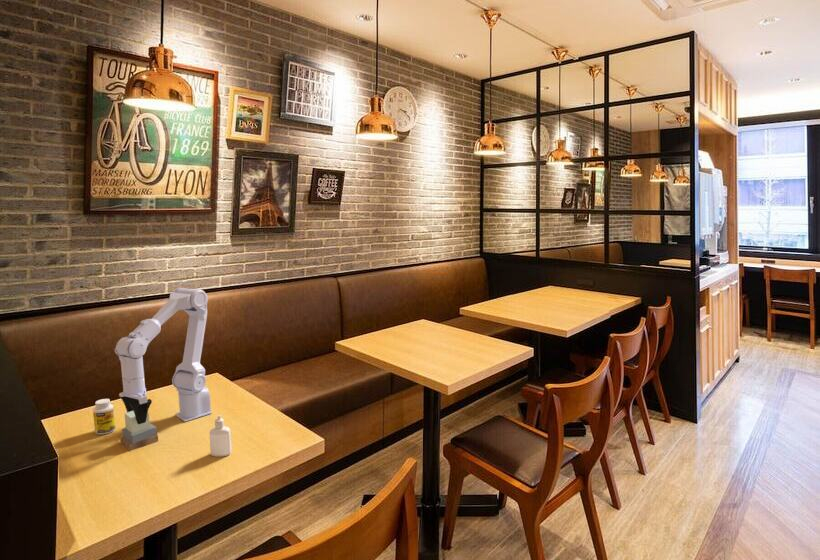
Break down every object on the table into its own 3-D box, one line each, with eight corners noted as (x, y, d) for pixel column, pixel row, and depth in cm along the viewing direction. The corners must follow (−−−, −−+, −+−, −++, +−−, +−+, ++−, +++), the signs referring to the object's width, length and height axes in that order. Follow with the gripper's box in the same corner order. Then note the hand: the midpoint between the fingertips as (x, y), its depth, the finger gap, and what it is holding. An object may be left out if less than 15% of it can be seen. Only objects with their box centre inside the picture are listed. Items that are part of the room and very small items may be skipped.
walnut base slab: (148, 434, 155) (148, 427, 155) (158, 443, 150) (157, 435, 150) (121, 443, 149) (120, 435, 149) (130, 452, 144) (129, 444, 144)
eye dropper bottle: (222, 459, 140) (220, 420, 138) (208, 455, 142) (205, 416, 140) (234, 452, 144) (232, 414, 142) (219, 448, 146) (217, 410, 144)
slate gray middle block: (146, 428, 154) (145, 420, 154) (157, 434, 150) (156, 427, 149) (122, 436, 149) (122, 428, 148) (133, 443, 144) (132, 435, 144)
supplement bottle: (95, 437, 152) (92, 406, 150) (95, 430, 157) (91, 400, 155) (116, 432, 155) (113, 402, 153) (115, 425, 160) (112, 396, 158)
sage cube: (143, 422, 152) (141, 407, 151) (150, 427, 149) (148, 412, 148) (125, 428, 148) (124, 413, 148) (132, 433, 145) (130, 418, 144)
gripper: (110, 373, 148) (114, 415, 150) (126, 386, 138) (131, 431, 140) (135, 368, 153) (139, 408, 155) (153, 380, 143) (156, 423, 145)
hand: (137, 419), depth 148 cm, fingers open, 7 cm apart
